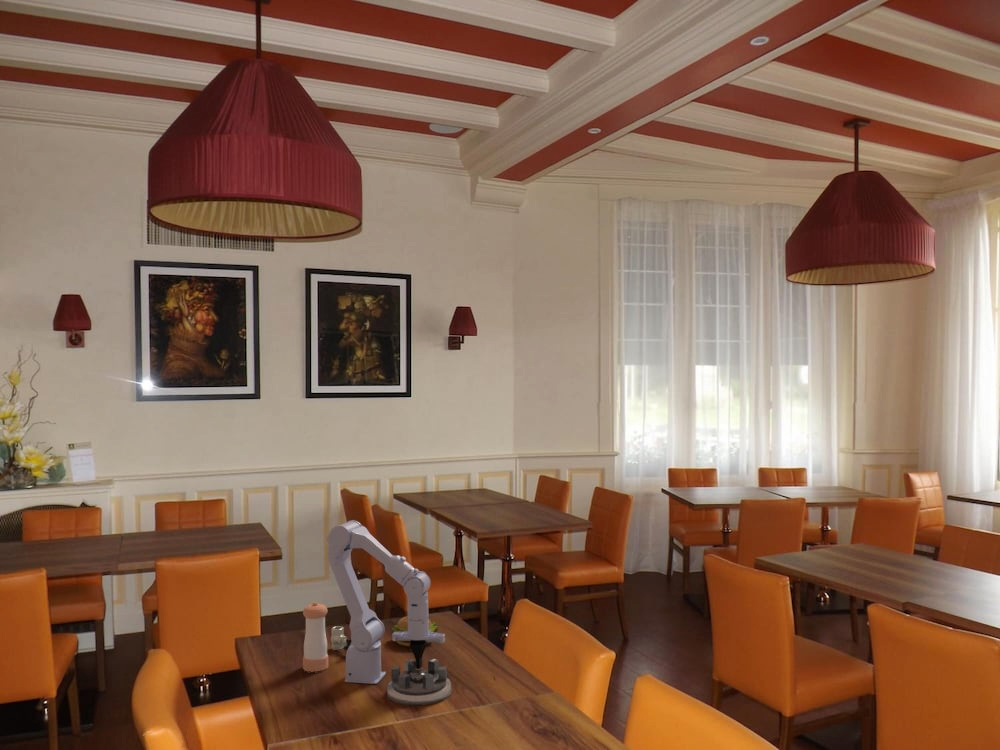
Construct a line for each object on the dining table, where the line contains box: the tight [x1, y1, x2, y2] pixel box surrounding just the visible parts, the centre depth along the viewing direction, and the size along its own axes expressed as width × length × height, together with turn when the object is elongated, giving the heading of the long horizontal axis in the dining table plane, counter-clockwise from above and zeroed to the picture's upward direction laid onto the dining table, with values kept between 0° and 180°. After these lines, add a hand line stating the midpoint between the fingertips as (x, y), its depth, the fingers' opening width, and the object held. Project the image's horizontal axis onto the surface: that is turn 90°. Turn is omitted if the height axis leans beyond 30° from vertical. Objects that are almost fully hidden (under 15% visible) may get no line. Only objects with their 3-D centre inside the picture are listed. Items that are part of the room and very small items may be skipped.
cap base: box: [386, 677, 452, 707], centre depth 204 cm, size 17×17×2 cm
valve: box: [330, 625, 353, 654], centre depth 236 cm, size 7×7×12 cm
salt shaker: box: [302, 601, 329, 672], centre depth 223 cm, size 7×7×19 cm
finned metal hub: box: [390, 658, 448, 695], centre depth 204 cm, size 15×15×4 cm
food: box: [391, 615, 439, 647], centre depth 245 cm, size 14×14×8 cm
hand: (419, 667), depth 211 cm, fingers closed
